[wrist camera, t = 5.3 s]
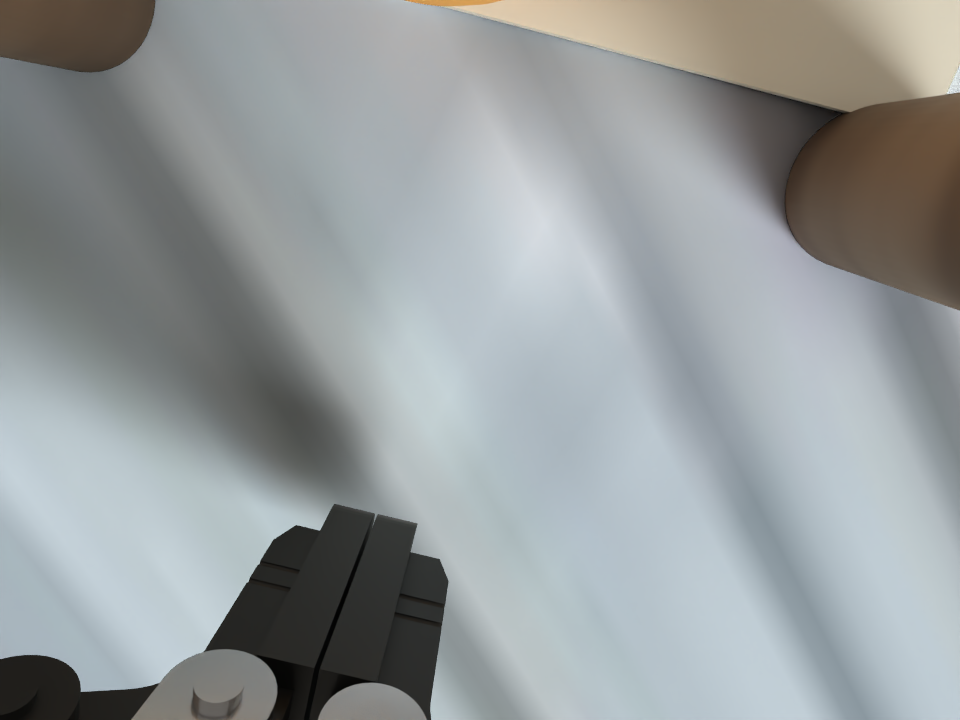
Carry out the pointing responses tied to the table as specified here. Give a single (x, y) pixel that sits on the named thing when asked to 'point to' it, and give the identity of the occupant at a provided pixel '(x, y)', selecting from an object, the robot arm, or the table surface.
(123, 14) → the post
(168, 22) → the table surface
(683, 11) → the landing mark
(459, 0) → the ball
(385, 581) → the robot arm
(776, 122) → the table surface
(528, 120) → the table surface
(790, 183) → the post
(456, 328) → the table surface
